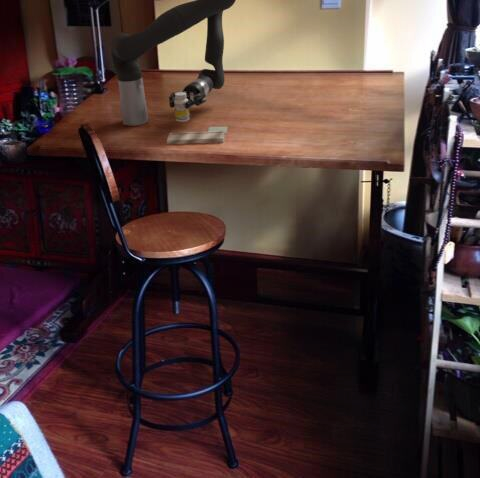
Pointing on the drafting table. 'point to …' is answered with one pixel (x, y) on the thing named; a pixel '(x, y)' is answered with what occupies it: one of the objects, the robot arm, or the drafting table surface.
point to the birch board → (196, 137)
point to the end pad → (218, 129)
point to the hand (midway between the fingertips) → (178, 105)
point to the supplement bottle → (181, 107)
